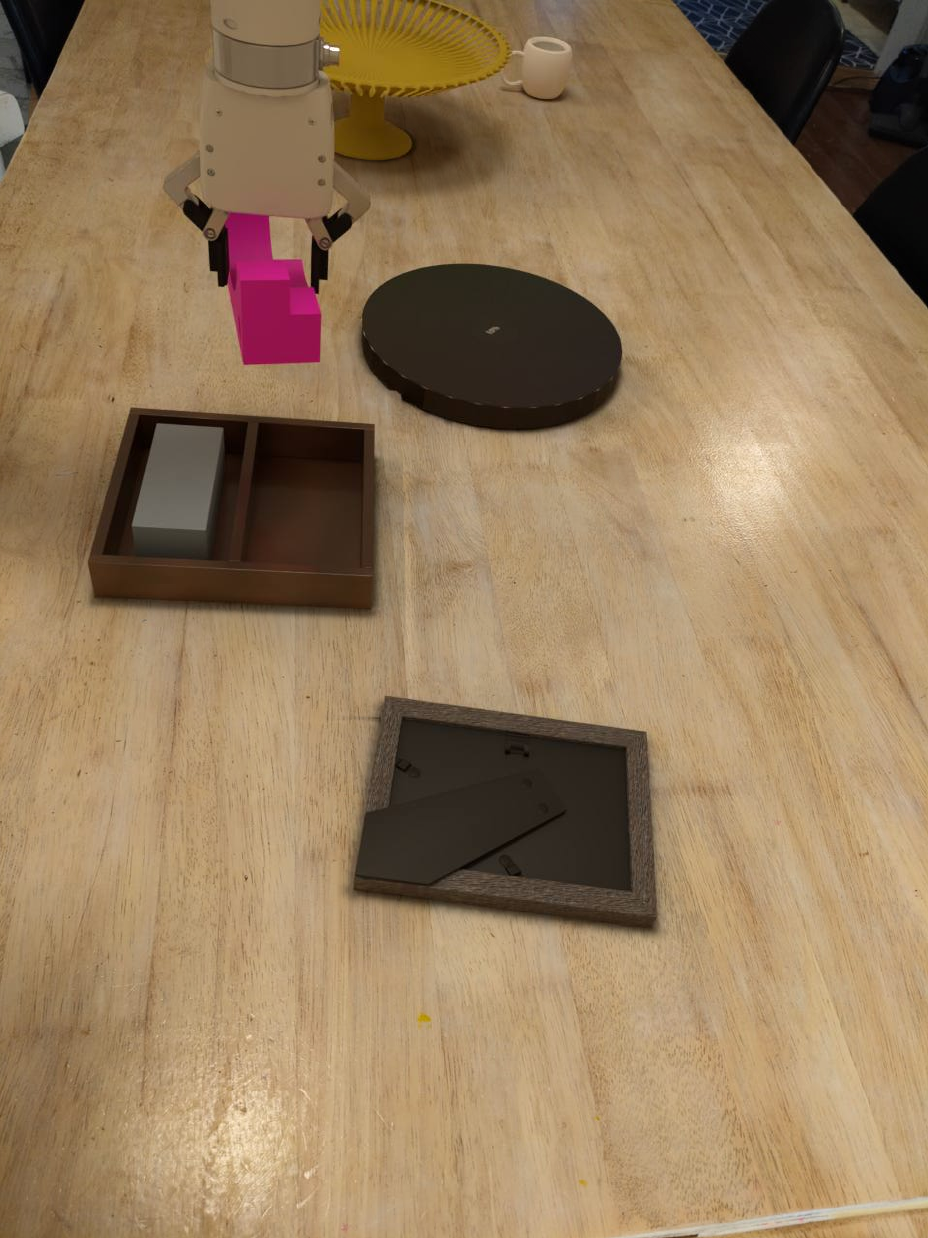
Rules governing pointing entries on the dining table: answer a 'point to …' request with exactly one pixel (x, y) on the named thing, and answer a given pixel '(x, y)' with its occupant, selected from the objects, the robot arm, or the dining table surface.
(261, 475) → the divided tray
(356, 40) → the yellow pedestal bowl
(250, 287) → the toy block
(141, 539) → the gray rectangular block
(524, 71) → the mug
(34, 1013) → the dining table surface
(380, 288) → the disc
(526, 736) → the picture frame
